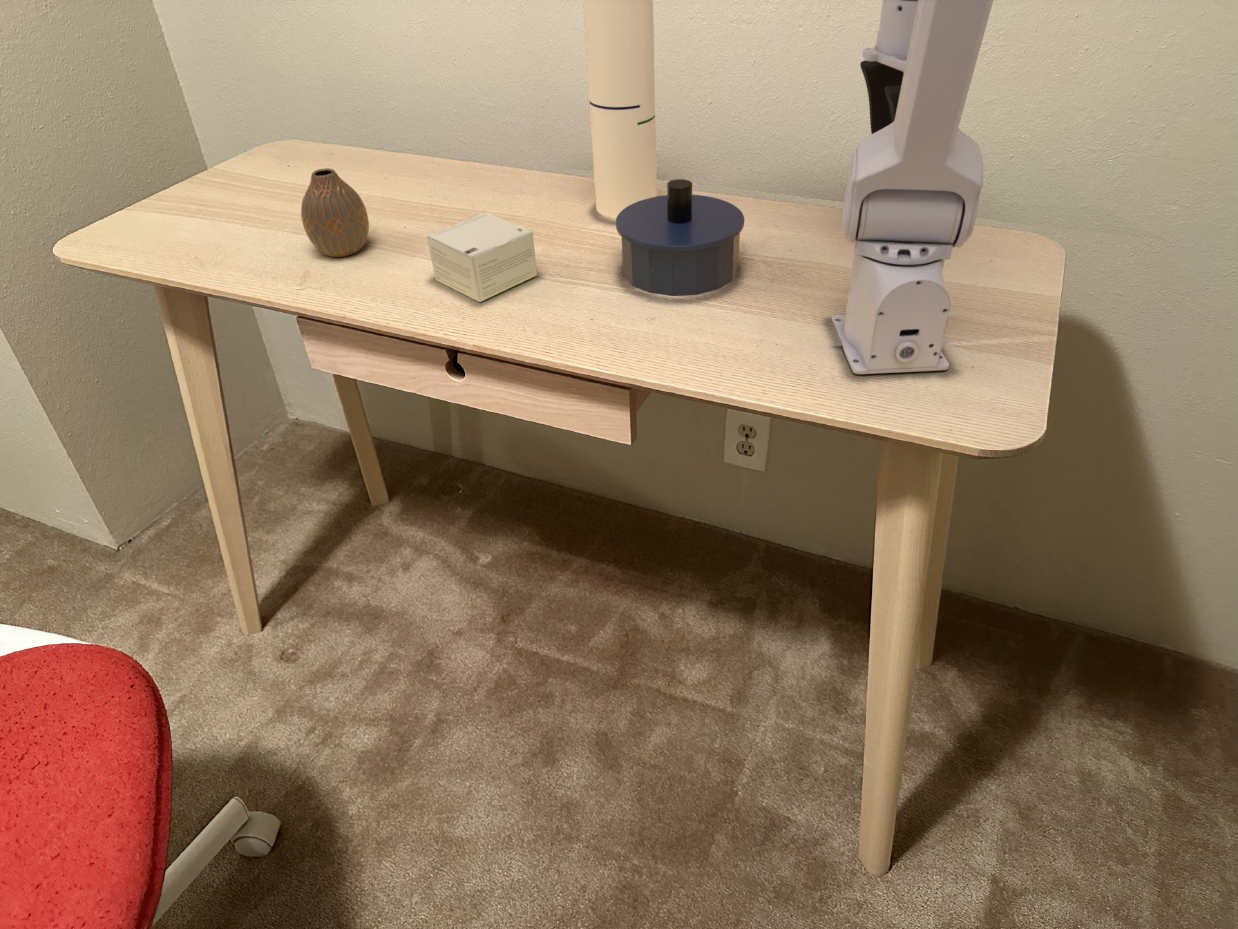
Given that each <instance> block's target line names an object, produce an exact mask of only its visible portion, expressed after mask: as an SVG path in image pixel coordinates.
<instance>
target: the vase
mask: <svg viewBox="0 0 1238 929" xmlns="http://www.w3.org/2000/svg"><path fill="white" fill-rule="evenodd" d="M310 175H311V176H310V181H309V182H310V183H309V184H308V187H307V189H306V191H305V193H304V196H303V198H302V201H301V208H300V216H301V222H302V226H303V229H304V232H305V234H306V236H307V238H308V239H309V241H310V243H311V244H312V245H313V246H314V247H315V248H316V249H317V250H318V251H320V253H323V254H324V255H326V256H328V257H332V258H343V257H348V256H349V257H350V256H352V255H354V254H356V253H358V252H359V251H361V250H362V248H363V247H364V245H365V244H366V242H367V240H368V237H369V233H370V232H369V231H370V221H369V216H368V210H367V207H366V206H365V203H364V201H363V200H362V197H361V196H360V195H359V194H358V192H357V191H356V190H355V189H354V188H353V187H352V186H351V185H350V184H348V183H347V182H346V181H344V179H342V178H341V177H340V176H339V175H338V173H337V172H336V171H335V169H333V168H329V167H327V168H319V169H317V170H314V171H313V172H312V173H311V174H310Z"/></svg>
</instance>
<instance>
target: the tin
mask: <svg viewBox="0 0 1238 929" xmlns="http://www.w3.org/2000/svg"><path fill="white" fill-rule="evenodd" d="M740 236H741V232H740V233H739V234H738V235H737V236H736V237H735V238H733V239H731V240H730V241H727V242H725V243H723V244H720V245H717V246H714V247H710V248H705V249H699V250H691V251H664V250H655V249H649V248H645V247H641V246H638V245H635V244H633V243H631V242H629V241H627V240H625V239H624V238H623V237H621V256H622V257H621V258H622V276H623V278H624V279H625V281H627V282H628V283H629V284H630V285H631V286H632V287H634V288H636V289H639V290H641V291H644V292H646V293H649V294H653V295H654V294H655V295H660V296H661V295H662V296H668V297H685V296H698V295H703V294H705V293H710V292H715V291H718V290H719V289H721V288H723V287H724V286H727V285H728V284H729V283H732V282H733V280H734V278H735V277H736V275H737V274H738V272H739V261H740V260H739V259H740V238H741V237H740Z"/></svg>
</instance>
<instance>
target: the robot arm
mask: <svg viewBox="0 0 1238 929" xmlns="http://www.w3.org/2000/svg"><path fill="white" fill-rule="evenodd" d="M881 3H882V5H881V12H880V18H879V19H880V20H879V27H878V31H877V32H876V33H877V34H876V41H875V45H874V47H865V48H863V49H862V55H861V56H862V58H863V60H862V61H861V62H859V63H860V64H859V66H860V69H861V72H862V75H863V78H864V81H865V86H866V91H867V97H868V105H869V123H870V124H869V125H870V135H868V136H866V137H864V138H863V139H861V140H860V141H859V142H858V143H857V145H856V149H855V150H854V151H853V152H852V157H851V163H850V167H849V168H848V169H847V175H846V181H845V186H844V196H843V206H842V214H841V215H842V218H841V236H842V238H844V239H845V241H846V243H848V244H854V253H853V260H852V267H851V273H850V282H849V289H848V296H847V303H846V309H845V314H844V313H843V314H833V315H831V317H830V319H831V320H832V323H833V325H834V327H835V330H836V332H837V335H838V337H839V340H840V342H841V344H842V345H841V348H842V351H843V352H844V355H845V357H846V359H847V362H848V364H849V366H850V369H851V372H852V373H854V374H855V375H873V374H875V375H877V374H895V373H896V374H897V373H914V372H915V373H916V372H936V371H939V372H940V371H946V370H948V369H949V367H950V363H949V361H948V360H947V358H946V356H945V355H944V352H942V348H943V343H944V340H945V336H946V331H947V326H948V322H949V317H950V313H951V307H952V304H951V296H950V294H949V291H948V289H947V287H946V284H945V281H944V275H943V274H944V271H943V270H944V267H945V266H944V265H945V261H946V260H950V259H951V256H952V253H953V248H961V247H963V245H964V244H965V243H966V242H967V241H968V240H970V238H971V236H972V234H973V231H974V229H975V224H976V220H977V217H978V212H979V204H980V196H981V194H982V193H981V192H982V189H983V185H984V158H983V155H982V153H981V148H980V145H979V144H978V142H976V141H975V140H974V139H973V138H972V137H970V135H967V134H966V133H965V132H964V131H962V130H961V129H959V127H960V124H961V119H962V115H963V112H964V108H965V105H966V102H967V97H968V95H969V91H970V87H971V83H972V79H973V76H974V73H975V69H976V65H977V61H978V58H979V56H980V51H981V47H982V43H983V40H984V36H985V33H986V29H987V26H988V22H989V18H990V14H991V11H992V7H993V4H994V0H882V2H881ZM837 320H839V321H837Z"/></svg>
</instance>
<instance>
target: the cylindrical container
mask: <svg viewBox="0 0 1238 929" xmlns="http://www.w3.org/2000/svg"><path fill="white" fill-rule="evenodd" d="M582 9H583V24H584V25H583V26H584V40H585V41H584V42H585V54H586V55H585V56H586V57H585V58H586V69H587V85H588V99H589V117H590V118H589V119H590V131H591V132H590V133H591V149H592V166H593V179H594V193H595V194H594V195H595V208H596V212H598V213H599V214H601V215H602V216H604V217H608V218H613V219H616V218H617V216H618V214H619V213H620V212H621V211H622V210H623V209H625V208H626V207H628V206H629V205H631V204H633V203H636V202H638V201H641V200H644V199H648V198H652V197H658V194H657V192H658V191H657V190H658V189H657V142H656V140H657V139H656V138H657V136H656V134H657V132H656V86H655V83H656V82H655V41H654V39H655V37H654V36H655V33H654V32H655V31H654V29H655V28H654V0H582Z"/></svg>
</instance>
